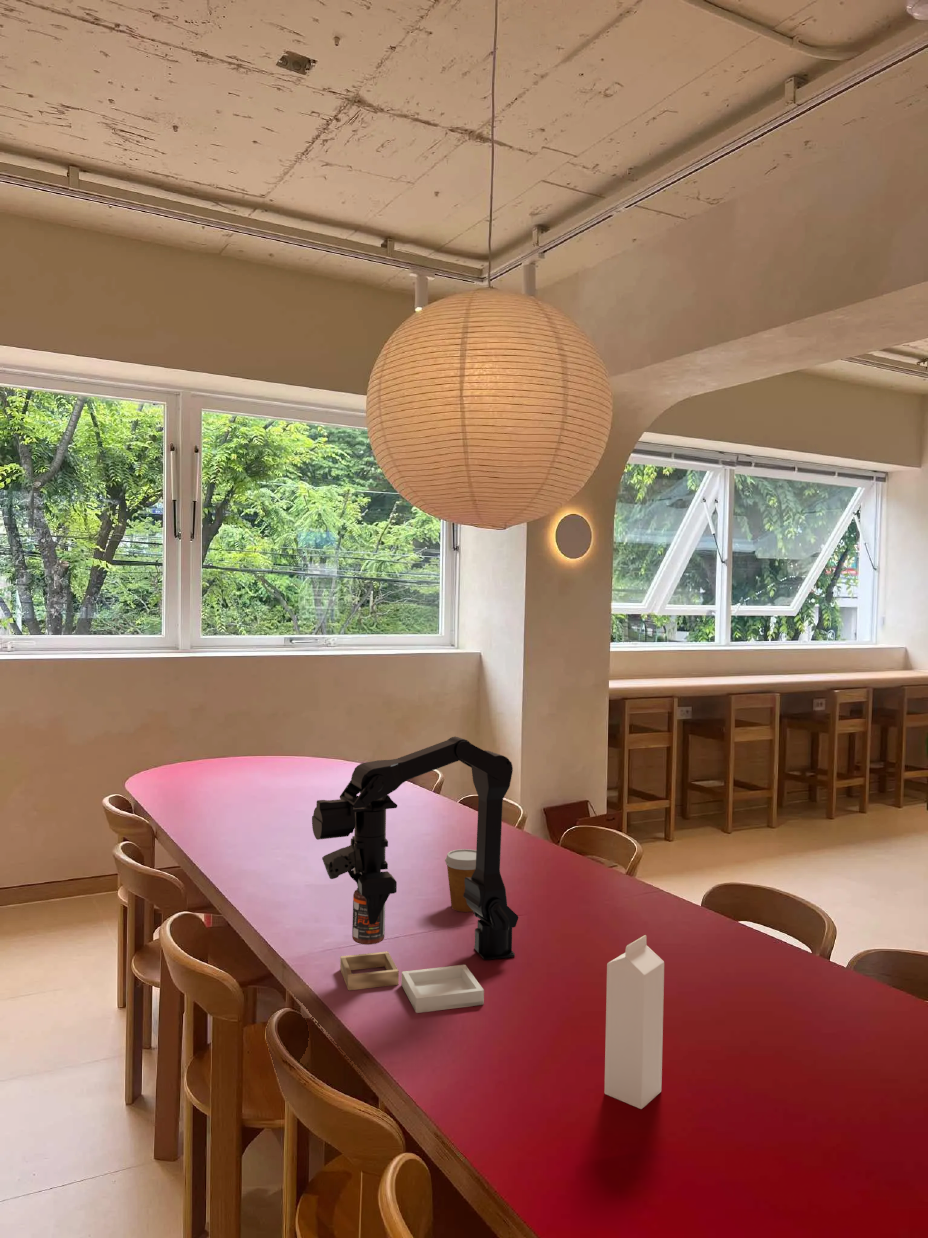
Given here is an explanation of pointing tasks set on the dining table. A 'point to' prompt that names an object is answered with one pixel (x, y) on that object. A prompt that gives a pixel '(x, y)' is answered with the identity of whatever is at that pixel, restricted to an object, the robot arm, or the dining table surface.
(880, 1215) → the dining table surface
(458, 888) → the disposable coffee cup
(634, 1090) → the milk
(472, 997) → the tray
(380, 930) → the supplement bottle
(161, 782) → the dining table surface
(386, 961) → the collar
